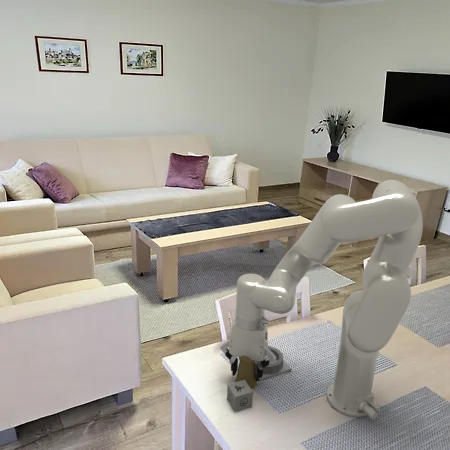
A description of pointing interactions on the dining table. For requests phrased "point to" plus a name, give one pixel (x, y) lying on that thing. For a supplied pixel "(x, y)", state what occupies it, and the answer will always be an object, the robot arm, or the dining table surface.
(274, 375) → the ring board
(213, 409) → the dining table surface
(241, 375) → the brown round-headed peg
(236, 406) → the dice cube
